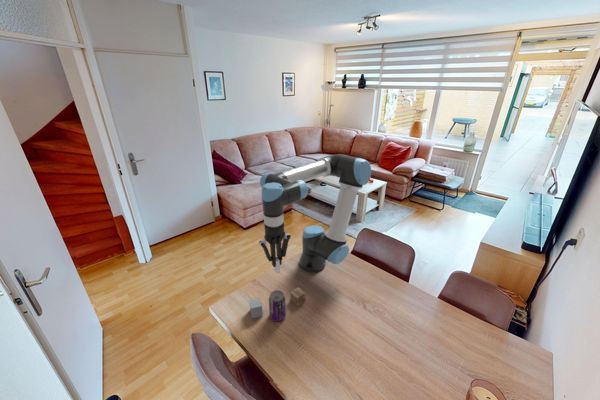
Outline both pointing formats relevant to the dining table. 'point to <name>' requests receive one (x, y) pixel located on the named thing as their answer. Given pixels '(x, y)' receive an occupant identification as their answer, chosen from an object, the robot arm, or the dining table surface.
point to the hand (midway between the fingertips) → (277, 271)
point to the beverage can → (277, 305)
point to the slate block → (255, 308)
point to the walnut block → (297, 296)
